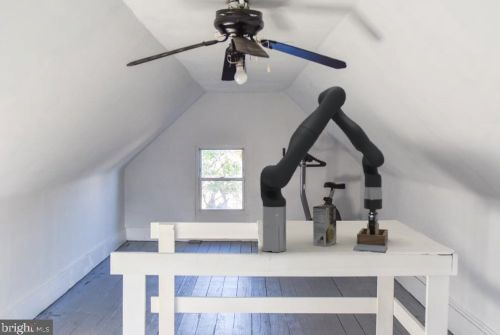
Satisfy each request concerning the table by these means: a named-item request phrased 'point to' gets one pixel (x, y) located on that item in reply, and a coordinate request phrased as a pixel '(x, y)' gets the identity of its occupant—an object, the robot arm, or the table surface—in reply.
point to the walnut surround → (372, 237)
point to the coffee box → (324, 225)
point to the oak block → (375, 229)
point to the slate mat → (371, 248)
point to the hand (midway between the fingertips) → (372, 237)
